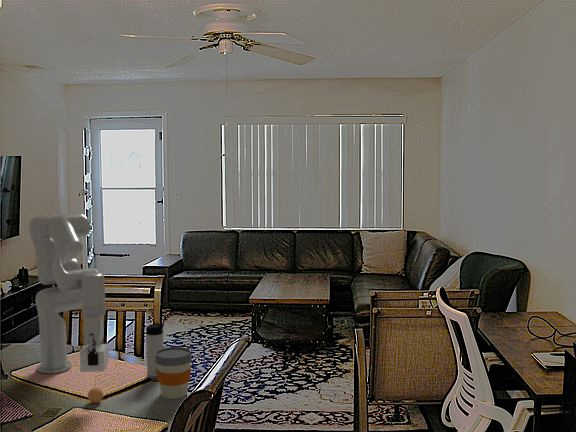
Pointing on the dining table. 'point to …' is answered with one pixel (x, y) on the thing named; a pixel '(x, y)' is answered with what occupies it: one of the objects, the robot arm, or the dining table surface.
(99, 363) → the white block
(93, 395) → the ball
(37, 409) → the dining table surface
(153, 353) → the travel mug
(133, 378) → the dining table surface
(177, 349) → the reusable coffee cup
